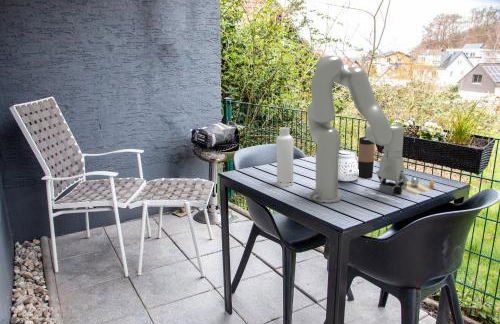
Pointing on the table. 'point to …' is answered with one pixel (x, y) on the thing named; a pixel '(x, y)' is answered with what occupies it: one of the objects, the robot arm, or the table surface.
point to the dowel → (431, 184)
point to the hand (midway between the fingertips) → (390, 192)
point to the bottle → (284, 157)
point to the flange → (390, 187)
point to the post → (414, 182)
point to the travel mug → (365, 158)
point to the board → (417, 190)
